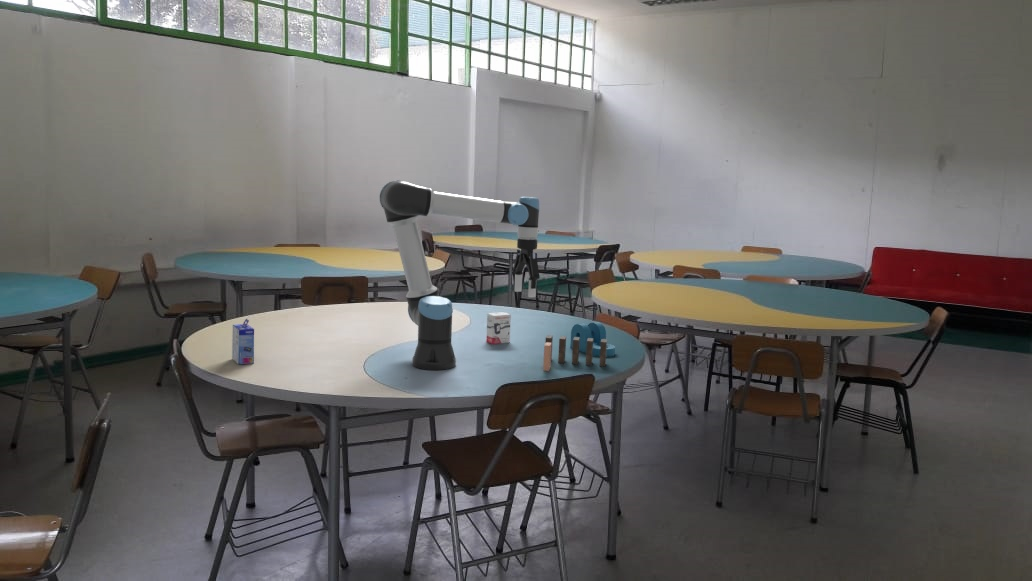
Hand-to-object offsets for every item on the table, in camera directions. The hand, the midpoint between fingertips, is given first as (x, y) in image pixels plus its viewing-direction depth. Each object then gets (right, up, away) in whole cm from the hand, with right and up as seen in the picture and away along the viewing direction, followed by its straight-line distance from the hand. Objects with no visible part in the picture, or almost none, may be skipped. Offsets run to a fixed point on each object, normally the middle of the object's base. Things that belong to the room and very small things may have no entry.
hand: (524, 294), depth 285 cm
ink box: (-11, -20, +19) cm, 29 cm away
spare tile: (+8, -26, -21) cm, 34 cm away
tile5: (+23, -25, -11) cm, 36 cm away
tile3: (+13, -25, -9) cm, 29 cm away
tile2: (+8, -24, -8) cm, 27 cm away
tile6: (+28, -26, -11) cm, 40 cm away
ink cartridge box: (-97, -23, -27) cm, 103 cm away
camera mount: (+28, -23, +10) cm, 37 cm away
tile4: (+18, -25, -10) cm, 32 cm away
